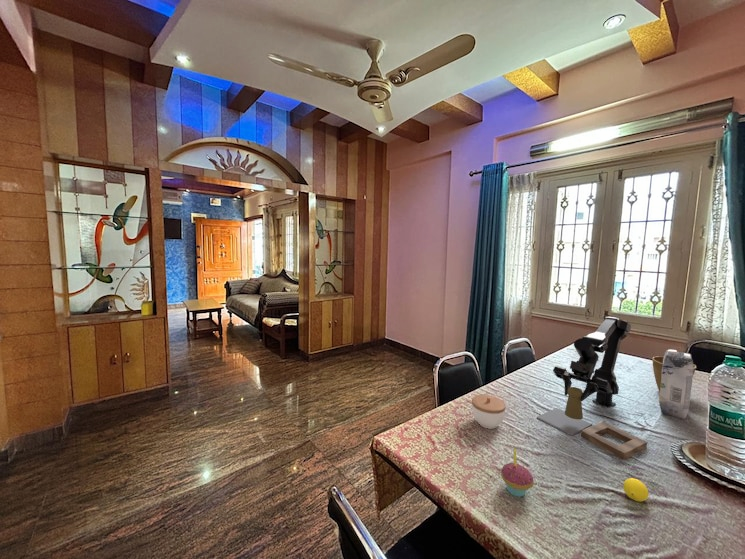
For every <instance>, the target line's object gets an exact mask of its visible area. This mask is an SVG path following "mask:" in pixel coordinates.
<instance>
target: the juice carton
mask: <svg viewBox="0 0 745 559" xmlns="http://www.w3.org/2000/svg"><path fill="white" fill-rule="evenodd" d="M663 357H664V359H663V366H662V376H661V386H660V392H659V402H658V403H659V409H660V412H661V413H662V414H664V415H668V416H671V417H675V418H679V419H683V420H685V419H686V418H687V415H688V414H689V410H690V402H691V394H692V386H693V379H694V378H693V377H694V375H693V364H694V360H693V358H692V353H688V352H687V353H686V352H680V351H678V350H676V349H667V350H665V351H664V356H663Z"/></svg>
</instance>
